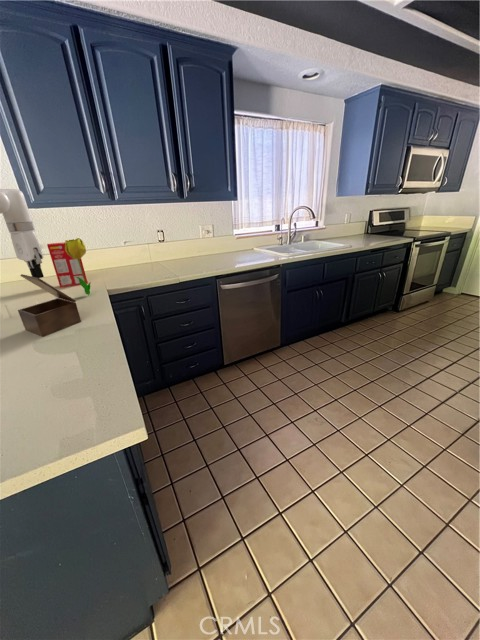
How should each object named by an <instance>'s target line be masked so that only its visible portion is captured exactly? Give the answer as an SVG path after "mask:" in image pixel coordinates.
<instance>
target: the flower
mask: <svg viewBox="0 0 480 640" xmlns="http://www.w3.org/2000/svg"><path fill="white" fill-rule="evenodd" d="M64 242H65V251H66V253H67V254H68V255H69V256H71V257H72V258H74V259H78V262H79V265H80V261H79V259H81V260H82V258H83V256H85V255H86V253H87V248H86V246H85V245H86V244H85V243H84V242H83V240H82V239H81V238H79V237H77V238H73V239H66V240H64ZM80 268H81V265H80ZM81 272H82V269H81ZM82 275H83V272H82ZM76 278H78V279H79V282H80V284H81V285H80V286H81V287H82V288H83V291H84V294H85V295H87V296H90V294H91V291H90V290H91V284H92V282H88V284H86V282H85V280H84V281H83V280H82V279H81V278H79V277H76ZM83 278H84V276H83Z"/></svg>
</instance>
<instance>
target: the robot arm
mask: <svg viewBox="0 0 480 640" xmlns="http://www.w3.org/2000/svg"><path fill="white" fill-rule="evenodd" d="M0 214H2V216H3V219H4V222H5V224H6V227H7V230H8V233H9V234H10V238H11V243H12V246H13V250H14V252H15V256H16V258H17V259H18V260H21V261H24V262H25V263H26V265H27V267H28V269H29V272H30V274H31V275H30V276H32V277H36V278H40V279H42V278H44V272H43V269H42V265H41V264H43V261H42V260H43V259H44V253H43V251H42V247H41V245H40V242H39V239H38V237H37V235H36V233H35V232H36V228H35V226H34V222H33V219H32V216H31V212H30V210H29V207H28V204H27V200H26V197H25V195H24V192H23V191H22V190H20V189H17V188H0Z"/></svg>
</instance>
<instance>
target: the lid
mask: <svg viewBox="0 0 480 640" xmlns="http://www.w3.org/2000/svg"><path fill="white" fill-rule="evenodd" d="M20 277H21V278H23V279H24V280H27V281H28V282H30V283H32V284H33V285H35V286H37V287H39V288H40V289H42V290H43V291H45V292H47V293H49V294H51V295H52V296H54V297H56V299H57V298H60V299H64V300H68V301H72V302H75V303H76V302H77V300H75V298H72V297H71V296H69V295H67V294H66V293H64V292H62V291H61V290H60V289H58V288H56V287H54V286H53V285H51V284H50V283H48V282H46V281H45V280H43V279H42V278H36V277H32V275H27V274H23V273H21V274H20Z"/></svg>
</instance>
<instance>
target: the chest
mask: <svg viewBox="0 0 480 640" xmlns="http://www.w3.org/2000/svg"><path fill="white" fill-rule="evenodd" d="M17 312H18V315H19V317H20V320H21V322H22V325H23V327H24V330H25V332H26V331H27V332H29V333H31V334H34V335H37V336H39V337H42V338H43V337H46V336H49V335H52V334H53V333H56V332H59V331H61V330H64V329H66V328H69V327H71V326H74V325H76V324H79V323H81V322H82V319H81V316H80V313H79V308H78V305H77V303H76V302H72V301H68V300H64V299H61V298H57V297H56V298H54V299H50V300H47V301H43V302H40V303H37V304H33V305H30V306H27V307H23V308H20V309H17Z"/></svg>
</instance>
